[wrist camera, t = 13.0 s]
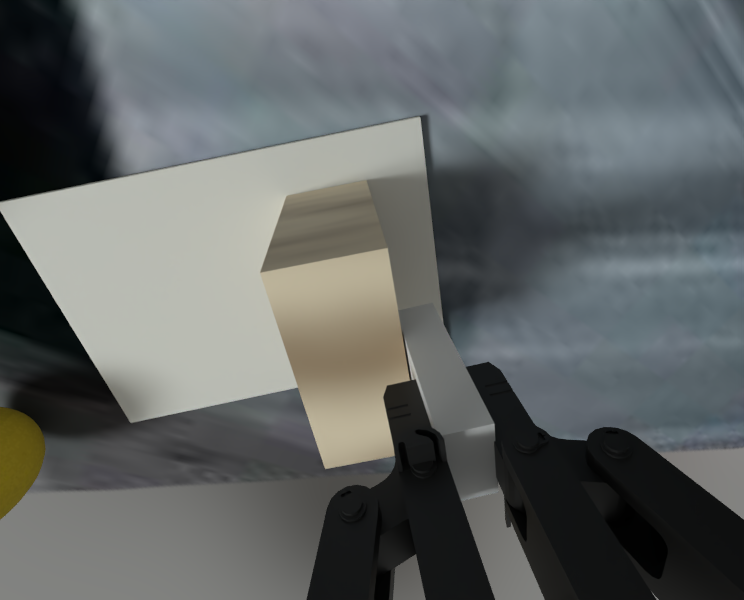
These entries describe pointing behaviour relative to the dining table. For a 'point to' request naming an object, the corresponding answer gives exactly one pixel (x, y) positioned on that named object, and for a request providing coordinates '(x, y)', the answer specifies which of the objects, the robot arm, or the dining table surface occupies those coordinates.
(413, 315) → the robot arm
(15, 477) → the lemon
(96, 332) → the placemat
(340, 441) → the slab
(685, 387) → the dining table surface
